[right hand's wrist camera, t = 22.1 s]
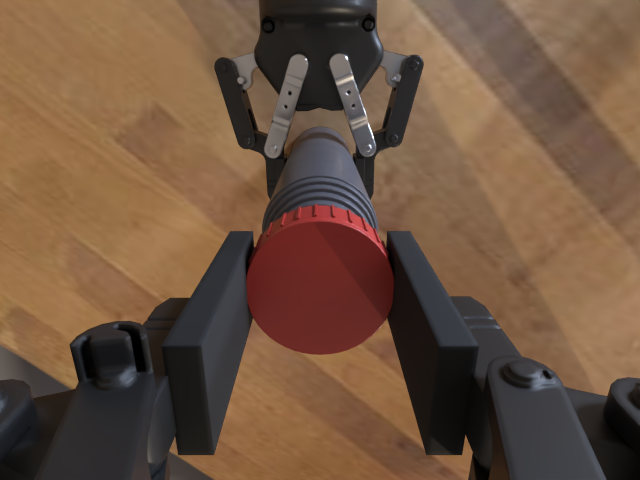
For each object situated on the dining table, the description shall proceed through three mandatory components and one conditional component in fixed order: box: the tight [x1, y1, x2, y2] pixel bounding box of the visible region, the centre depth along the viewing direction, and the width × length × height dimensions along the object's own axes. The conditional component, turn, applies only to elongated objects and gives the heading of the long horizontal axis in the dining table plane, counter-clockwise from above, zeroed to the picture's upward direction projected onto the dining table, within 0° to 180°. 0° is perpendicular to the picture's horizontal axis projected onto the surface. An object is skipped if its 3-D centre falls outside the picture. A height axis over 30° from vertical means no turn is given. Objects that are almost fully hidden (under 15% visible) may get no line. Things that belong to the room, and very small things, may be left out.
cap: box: [246, 204, 394, 355], centre depth 14 cm, size 5×5×2 cm
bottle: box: [262, 127, 378, 234], centre depth 25 cm, size 5×5×25 cm
